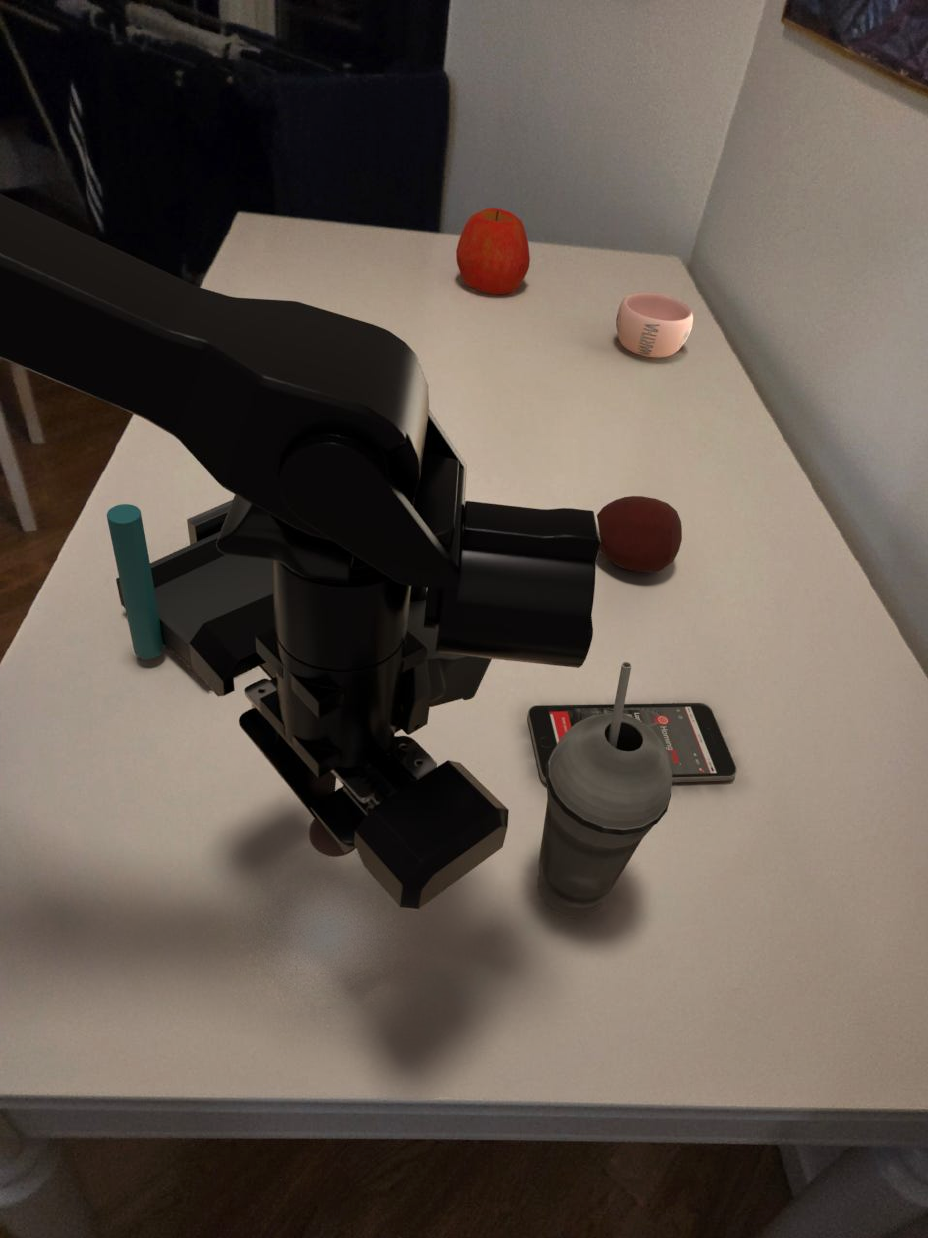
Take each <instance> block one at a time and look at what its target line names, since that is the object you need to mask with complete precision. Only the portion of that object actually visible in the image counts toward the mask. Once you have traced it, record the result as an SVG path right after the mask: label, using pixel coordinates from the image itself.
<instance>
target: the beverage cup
mask: <svg viewBox="0 0 928 1238" xmlns="http://www.w3.org/2000/svg"><path fill="white" fill-rule="evenodd" d="M631 671H632V663H631V662H629V661H623V662H622V663H621V666H620V671H619V678H618V683H617V688H616V694H615V698H614V699H615V700H614V704H615V705H614V710H613V713H605V714H598V715H593V716H590V717H588V718H586V719H584V720H581V721H579V722H578V723H576V724H575V725H574V726H572V727H571V728H570V729H569V730H568V731H567V732H566V733H565V734H564V735H563V736H562V737H561V739H560V740H559V742H558V743H557V746H556V747H555V748H554V749H553V751H552V752H551V755H550V757H549V759H548V762H547V764H546V783H547V784H546V783H545V784H546V794H547V795H546V796H547V799H546V800H547V802H546V808H545V813H544V814H545V815H544V820H543V821H544V822H543V827H542V829H543V830H542V837H541V842H540V848H539V849H540V850H539V857H538V865H537V868H538V870H537V871H538V872H537V873H538V874H537V880H536V881H537V883H536V884H537V890H538V893H539V896H540V898H541V899H542V901H543V902H544V903H545V905H546V906H547V907H549V908H550V909H551V910H552V911H554V912H555V913H557V914H559V915H561V916H564V917H568V918H576V919H577V918H583V917H587V916H589V915H591V914H593V913H594V912H596V911H597V910H598V909H599V908H600V906H602V904H603V902H604V900H605V899H606V898H607V896H609V894H610V893H611V891H612V889H613V888H614V886H615V885H616V883H617V881H618V880H619V878H620V877H621V875H622V873H623V871H624V870H625V868H626V867H627V866H628V863H629V862H630V860H631V858H632V857H633V855H634V853H635V852H636V850H637V848H638V847H639V845H640V843H641V842H642V841H643V839H644V837H646V835H647V834H648V833H650V831H651V830H652V828H653V827H654V826H655V825H658V823H659V822H660V820H661V819H662V818H663V817H664V816H665V814H666V813H667V812H668V810H669V806H670V803H671V802H670V801H671V798H672V787H673V782H672V779H673V778H672V770H671V763H670V757H669V755H668V753H667V751H666V749H665V747H664V745H663V743H662V741H661V739H660V738H659V737H658V736H657V735H656V734H655V733H654V732H653V731H652V730H651V728H650V727H649V726H647V725H646V724H644V723H642V722H641V721H639V720H638V719H635V718H633V717H630V716H627V715H624V714H623V709H624V704H626V697H627V693H628V692H627V691H628V688H629V681H630V675H631Z"/></svg>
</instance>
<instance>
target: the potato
mask: <svg viewBox="0 0 928 1238" xmlns="http://www.w3.org/2000/svg"><path fill="white" fill-rule="evenodd" d="M596 515H597V518H598V526H599V533H600V541H601V545H600V549H599V552H600V553H601V554H602V555H603V556H604V557H605V558H606V560H609V561H610V562H611V563H612V564H614V565H616V566H618V567H621V568H623V569H625V570H628V571H634V572H643V573H653V572H659V571H662V570H664V569H666V568H667V567H669V566H670V565H671V564H672V563H674V561H675V560H676V558H677V556H678V553H679V551H680V548H681V545H682V541H683V529H682V528H683V526H682V521H681V517H680V515H679V512H678V511H677V510H676V509H675V508H674V507H673V506H672V505H671V504H669V502H665V501H663V500H660V499H657V498H654V497H648V496H643V495H631V496H624V497H621V498H617V499H615V500H613V501H611V502H609V503H607V504H606V505H604V506H603V507H601V509H600V510H599V512H598V513H596Z"/></svg>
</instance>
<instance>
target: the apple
mask: <svg viewBox="0 0 928 1238" xmlns="http://www.w3.org/2000/svg"><path fill="white" fill-rule="evenodd" d="M526 232H527V231H526V229H525V226H524V223H523V221H522V220H521V219H520V218H519V217H518V216H517V215H516V214H514V213H512V212H511V211H508V210H505V209H502V208H497V207H489V208H485V209H481V210H479V211H477V212H476V213H474V214H472V215H470V217H469V219H468V220H467V221H466V223H465V225H464V227H463V229H462V232H461V234H460V236H459V239H458V242H457V247H456V251H455V253H456V256H455V257H456V258H455V259H456V264H457V267H458V271H459V274H460V276H461V277H462V279H463V281H464V282H465V284H467V285H468V287H471V288H473V289H476V290H478V291H481V292H484V293H488V294H491V295H506V294H510V293H512V292H515V291H516V290H517V289H518V288H519V287H520V286H521V284H522V283H523V281H524V279H525V278H526V276H527V274H528V271H529V268H530V261H531V256H530V247H529V241H528V237H527V233H526Z"/></svg>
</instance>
